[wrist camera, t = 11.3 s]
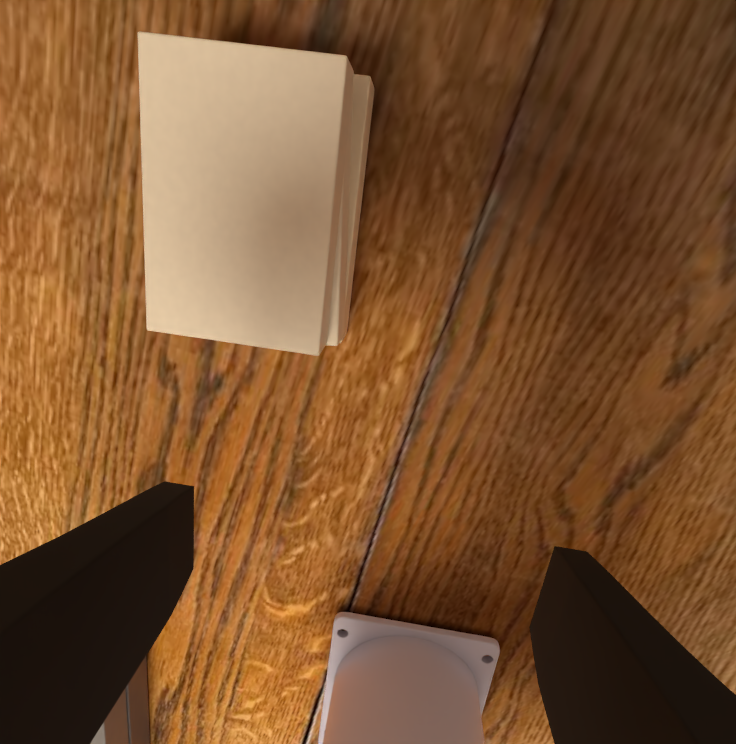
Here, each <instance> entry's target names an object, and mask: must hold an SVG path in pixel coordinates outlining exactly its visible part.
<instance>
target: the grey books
mask: <svg viewBox="0 0 736 744" xmlns="http://www.w3.org/2000/svg"><path fill="white" fill-rule="evenodd" d="M90 744H150V734H149V709H148V684H147V659H146V657H145V658H144V660H143V661H142V663H141V664H140V666H139V668H138V669H137V671H136V672H135V674H134V675H133V677H132V679H131V680H130V682H129V683H128V685H127V686H126V688H125V690H124V691H123V693H122V694H121V696H120V697H119V699H118V701H117V702H116V704H115V705H114V707H113V708H112V710H111V712H110V713H109V715H108V716H107V718H106V719H105V721H104V723H103V724H102V726H101V727H100V729H99V730H98V732H97V734H96V735H95V737H94V738H93V740H92V742H91V743H90Z"/></svg>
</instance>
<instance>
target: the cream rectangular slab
mask: <svg viewBox="0 0 736 744" xmlns="http://www.w3.org/2000/svg"><path fill="white" fill-rule="evenodd" d="M138 60H139V93H140V126H141V158H142V191H143V224H144V256H145V289H146V321H147V330H149V331H155V332H162V333H169V334H176V335H182V336H189V337H196V338H202V339H209V340H216V341H222V342H229V343H236V344H243V345H249V346H256V347H263V348H269V349H276V350H283V351H289V352H296V353H303V354H310V355H316V356H318V355H319V354H320V353H321V351H322V350H323V348H324V347H325V345H326V344H327V337H328V327H329V317H330V307H331V296H332V286H333V276H334V266H335V256H336V246H337V236H338V226H339V216H340V206H341V196H342V186H343V176H344V166H345V156H346V146H347V136H348V126H349V116H350V106H351V96H352V86H353V76H354V71H353V69H352V66H351V64H350V62H349V60H348V57H347V56H346V55H339V54H330V53H322V52H313V51H304V50H296V49H287V48H279V47H270V46H261V45H253V44H244V43H236V42H227V41H218V40H210V39H201V38H193V37H184V36H175V35H167V34H158V33H150V32H141V31H140V32H138Z"/></svg>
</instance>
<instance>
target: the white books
mask: <svg viewBox="0 0 736 744" xmlns="http://www.w3.org/2000/svg"><path fill="white" fill-rule="evenodd" d="M374 90H375V89H374V85H373V82H372V80H371V77H370V76H367V75H359V74H354V76H353V86H352V96H351V106H350V116H349V126H348V136H347V146H346V156H345V166H344V176H343V186H342V196H341V206H340V216H339V226H338V236H337V246H336V256H335V266H334V276H333V286H332V296H331V307H330V317H329V327H328V337H327V344H326V345H330V346H337V345H338V344H339V343H341V342H342V340H343V339H344V337H345V335H346V333H347V328H348V319H349V310H350V302H351V293H352V284H353V275H354V266H355V258H356V249H357V240H358V231H359V222H360V213H361V205H362V196H363V187H364V178H365V169H366V161H367V152H368V143H369V134H370V125H371V117H372V108H373V99H374Z"/></svg>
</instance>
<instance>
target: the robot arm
mask: <svg viewBox="0 0 736 744" xmlns="http://www.w3.org/2000/svg"><path fill="white" fill-rule="evenodd" d="M193 549H194V486H188V485H182V484H176V483H170V482H163V483H161V484H159V485H156V486H154V487H152V488H150V489H148V490H146V491H144V492H143V493H141V494H139V495H137V496H135V497H133V498H131V499H129V500H128V501H126V502H124V503H122V504H120V505H118V506H116V507H115V508H113V509H111V510H109V511H107V512H105V513H103V514H101V515H100V516H98V517H96V518H94V519H92V520H90V521H88V522H86V523H84V524H82V525H81V526H79V527H77V528H75V529H73V530H71V531H69V532H67V533H65V534H63V535H62V536H60V537H58V538H55V539H53V540H51V541H49V542H47V543H45V544H43V545H41V546H39V547H37V548H35V549H33V550H31V551H29V552H27V553H25V554H22V555H20V556H18V557H16V558H14V559H12V560H10V561H8V562H6V563H4V564H2V565H0V744H90V743H91V742H92V740H93V738H94V737H95V735H96V734H97V732H98V730H99V729H100V727H101V726H102V724H103V723H104V721H105V719H106V718H107V716H108V715H109V713H110V712H111V710H112V708H113V707H114V705H115V704H116V702H117V701H118V699H119V697H120V696H121V694H122V693H123V691H124V690H125V688H126V686H127V685H128V683H129V682H130V680H131V679H132V677H133V675H134V674H135V672H136V671H137V669H138V668H139V666H140V664H141V663H142V661H143V660H144V658H145V657H146V655H147V653H148V652H149V650H150V649H151V647H152V645H153V644H154V642H155V641H156V639H157V637H158V636H159V634H160V633H161V631H162V629H163V628H164V626H165V625H166V623H167V621H168V620H169V618H170V616H171V614H172V612H173V610H174V608H175V606H176V604H177V602H178V600H179V598H180V596H181V594H182V592H183V590H184V588H185V585H186V583H187V581H188V579H189V577H190V575H191V573H192V570H193ZM340 629H344V630H346V631H342V630H340ZM530 633H531V640H532V647H533V654H534V661H535V666H536V672H537V678H538V684H539V688H540V691H541V695H542V699H543V703H544V706H545V710H546V714H547V717H548V721H549V725H550V728H551V732H552V736H553V739H554V743H555V744H736V695H735V694H734V693H733V692H732V691H730V690H729V689H728V688H727V687H726V686H725V685H724V684H723V683H722V682H721V681H719V680H718V679H717V678H716V677H715V676H714V675H713V674H712V673H711V672H710V671H708V670H707V669H706V668H705V667H704V666H703V665H702V664H701V663H700V662H699V661H698V660H697V659H696V658H695V657H694V656H693V655H692V654H690V653H689V652H688V651H687V650H686V649H685V648H684V647H683V646H682V645H681V644H680V643H679V642H678V641H677V640H676V639H675V638H674V637H673V636H672V635H671V634H670V633H669V632H668V631H667V630H666V629H665V628H664V627H663V626H662V625H661V624H660V623H659V622H658V621H657V620H656V619H655V618H654V617H653V616H652V615H651V614H650V613H649V612H648V611H647V610H646V609H645V608H644V607H643V606H642V605H641V604H640V603H639V602H638V601H637V600H636V599H635V598H634V597H633V596H632V595H631V594H630V593H629V592H628V591H627V590H626V589H625V588H624V587H623V586H622V585H621V584H620V583H619V582H618V581H617V580H616V579H615V578H614V577H613V576H612V575H611V574H610V573H609V572H608V571H607V570H606V569H605V568H604V567H603V566H602V565H601V564H600V563H599V562H597V561H596V560H595V559H594V558H593V557H592V556H591V555H590V554H589V553H588V552H586V551H580V550H574V549H568V548H562V547H556V546H555V547H554V550H553V553H552V557H551V560H550V563H549V566H548V570H547V573H546V576H545V579H544V582H543V586H542V589H541V592H540V595H539V599H538V602H537V605H536V608H535V611H534V615H533V618H532V621H531V624H530ZM499 654H500V647H499V643H498V641H497V640H495V639H494V638H491V637H486V636H480V635H474V634H469V633H463V632H457V631H452V630H446V629H440V628H435V627H429V626H423V625H418V624H412V623H406V622H401V621H395V620H389V619H384V618H378V617H372V616H367V615H361V614H355V613H350V612H340V613H338V614H337V615H336V616H335V619H334V624H333V632H332V640H331V647H330V655H329V662H328V670H327V678H326V685H325V693H324V700H323V708H322V716H321V723H320V731H319V739H318V744H485V742H484V734H483V726H482V718H481V716H482V712H483V709H484V706H485V702H486V699H487V695H488V692H489V688H490V685H491V681H492V678H493V675H494V671H495V668H496V664H497V661H498V657H499ZM485 655H489V656H485Z"/></svg>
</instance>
